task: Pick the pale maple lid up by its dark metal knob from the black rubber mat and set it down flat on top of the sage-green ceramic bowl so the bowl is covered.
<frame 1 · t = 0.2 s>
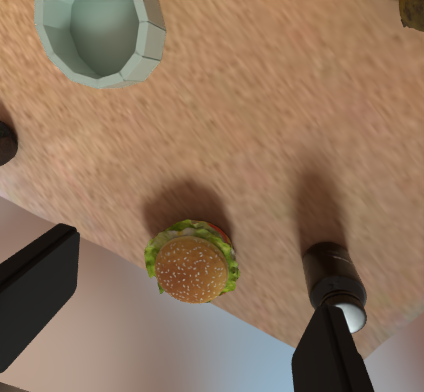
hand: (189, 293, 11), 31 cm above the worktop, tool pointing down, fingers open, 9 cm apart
supplement bottle: (324, 259, 44), on the worktop
mate gourd: (5, 137, 45), on the worktop
food: (197, 247, 47), on the worktop
bowl: (115, 31, 37), on the worktop
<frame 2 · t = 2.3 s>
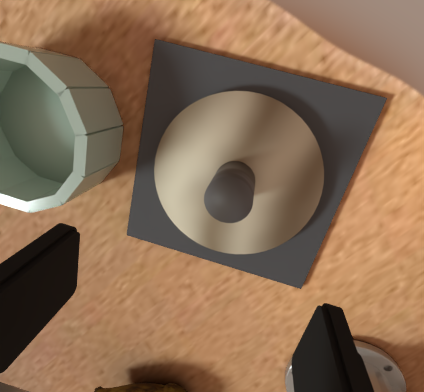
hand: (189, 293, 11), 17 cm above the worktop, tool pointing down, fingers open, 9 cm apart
mat: (236, 176, 27), on the worktop
lid: (232, 187, 24), on the mat
potato: (146, 382, 40), on the worktop
bowl: (59, 125, 28), on the worktop
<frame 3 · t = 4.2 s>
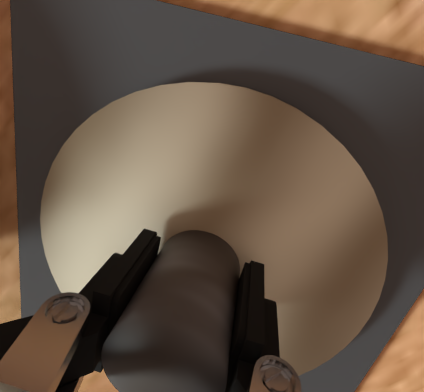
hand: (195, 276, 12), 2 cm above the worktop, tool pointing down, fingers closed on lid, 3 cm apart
mat: (205, 248, 14), on the worktop
lid: (187, 298, 11), on the mat, touching gripper
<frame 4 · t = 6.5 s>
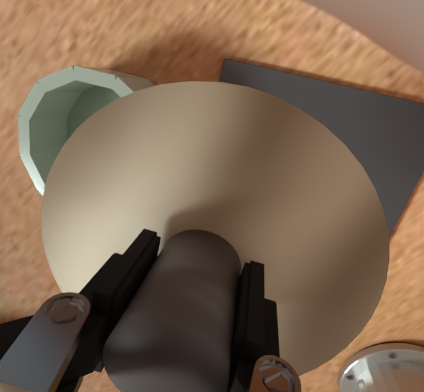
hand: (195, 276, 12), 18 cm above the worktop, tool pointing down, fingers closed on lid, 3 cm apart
mat: (297, 187, 28), on the worktop
lid: (189, 297, 11), point 19 cm above the worktop, touching gripper
bowl: (123, 141, 29), on the worktop
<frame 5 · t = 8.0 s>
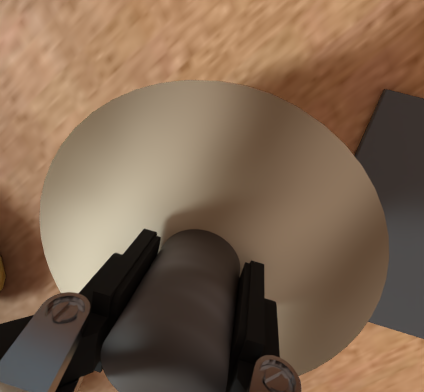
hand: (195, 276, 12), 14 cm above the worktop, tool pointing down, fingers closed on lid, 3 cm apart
lid: (187, 297, 11), point 15 cm above the worktop, touching gripper
when the fingers open (9 cm above the worktop, at t = 9.1 s): lid stays where it is, resting on bowl.
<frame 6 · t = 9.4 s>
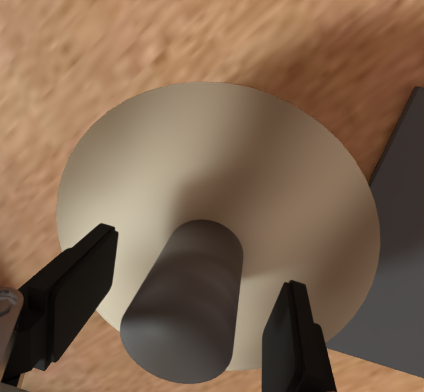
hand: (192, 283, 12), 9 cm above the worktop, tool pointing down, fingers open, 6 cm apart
lid: (195, 281, 12), on the bowl, point 9 cm above the worktop
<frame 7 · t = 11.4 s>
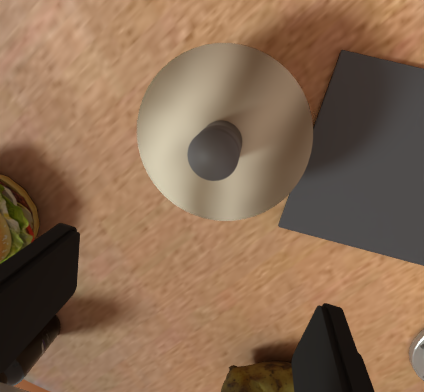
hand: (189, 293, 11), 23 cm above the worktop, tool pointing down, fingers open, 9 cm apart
supplement bottle: (43, 319, 47), on the worktop
food: (6, 208, 40), on the worktop
mat: (395, 170, 30), on the worktop
lid: (218, 147, 23), on the bowl, point 9 cm above the worktop
potato: (269, 361, 43), on the worktop
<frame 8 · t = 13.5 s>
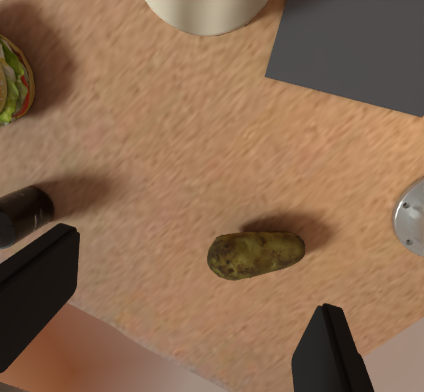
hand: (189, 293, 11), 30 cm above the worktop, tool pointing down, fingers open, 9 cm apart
supplement bottle: (37, 204, 48), on the worktop
food: (3, 76, 41), on the worktop
mat: (376, 6, 31), on the worktop
potato: (256, 240, 44), on the worktop
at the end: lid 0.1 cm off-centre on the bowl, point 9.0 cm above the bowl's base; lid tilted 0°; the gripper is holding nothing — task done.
